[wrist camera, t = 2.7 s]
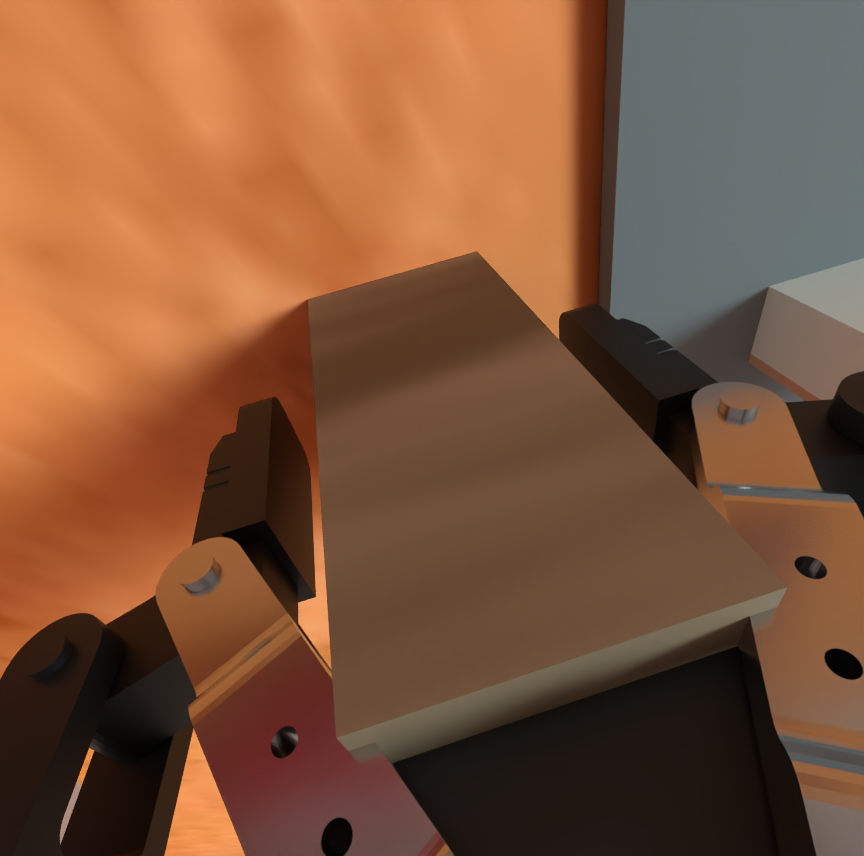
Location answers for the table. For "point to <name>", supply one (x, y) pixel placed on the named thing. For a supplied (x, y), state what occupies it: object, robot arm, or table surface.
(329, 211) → the table surface
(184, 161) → the table surface
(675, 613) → the block
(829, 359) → the tile
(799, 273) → the mat
